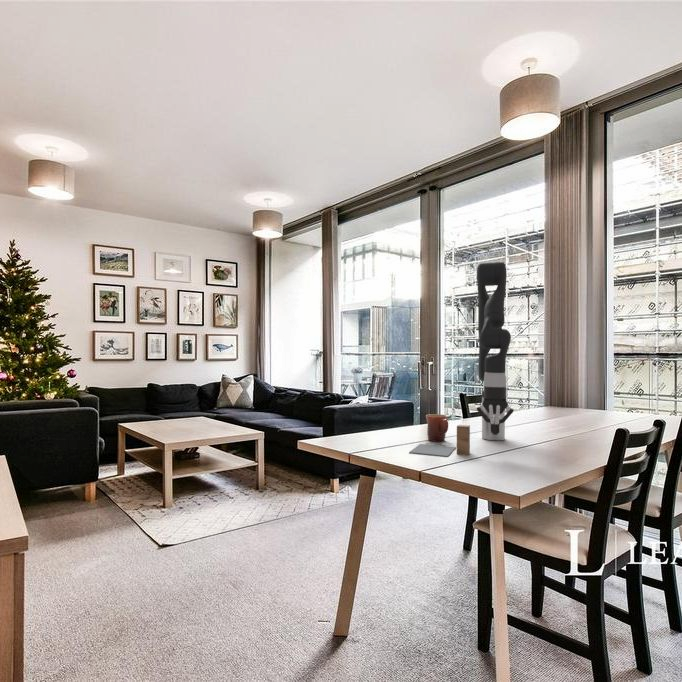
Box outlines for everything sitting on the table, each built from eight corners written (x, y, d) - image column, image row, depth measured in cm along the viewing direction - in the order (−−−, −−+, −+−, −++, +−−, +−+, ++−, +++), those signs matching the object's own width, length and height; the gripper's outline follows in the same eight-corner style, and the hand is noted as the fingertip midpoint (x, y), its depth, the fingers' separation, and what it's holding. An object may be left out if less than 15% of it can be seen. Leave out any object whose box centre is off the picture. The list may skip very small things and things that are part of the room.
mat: (419, 444, 183) (419, 443, 183) (456, 448, 178) (456, 447, 178) (409, 453, 169) (409, 452, 169) (447, 456, 163) (447, 455, 163)
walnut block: (458, 451, 171) (458, 424, 172) (469, 452, 170) (469, 425, 170) (456, 454, 168) (456, 426, 168) (468, 455, 166) (468, 426, 166)
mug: (421, 439, 195) (421, 414, 195) (439, 437, 199) (439, 413, 199) (437, 444, 184) (437, 418, 184) (456, 443, 187) (456, 417, 188)
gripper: (515, 385, 165) (515, 434, 165) (477, 384, 171) (477, 431, 170) (514, 386, 159) (514, 437, 158) (474, 385, 164) (474, 434, 164)
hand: (495, 434), depth 164 cm, fingers closed
